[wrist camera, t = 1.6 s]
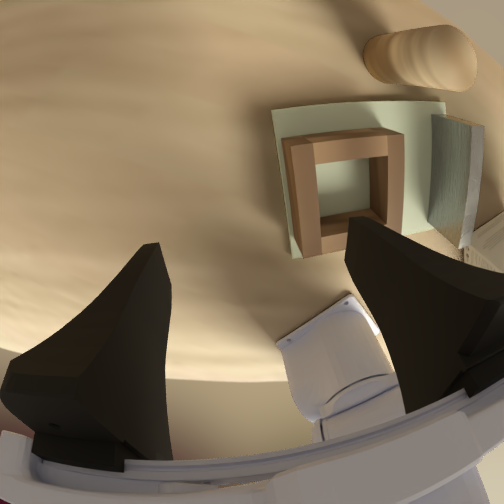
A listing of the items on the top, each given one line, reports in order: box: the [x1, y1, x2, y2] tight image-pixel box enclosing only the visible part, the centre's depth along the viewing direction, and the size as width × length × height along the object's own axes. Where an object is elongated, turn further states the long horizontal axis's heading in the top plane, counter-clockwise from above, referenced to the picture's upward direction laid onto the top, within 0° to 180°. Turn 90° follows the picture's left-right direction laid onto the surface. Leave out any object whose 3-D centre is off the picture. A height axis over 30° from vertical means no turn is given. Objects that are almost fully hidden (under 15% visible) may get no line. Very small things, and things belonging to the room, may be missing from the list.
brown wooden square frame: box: [281, 127, 405, 258], centre depth 20 cm, size 8×8×3 cm
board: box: [271, 100, 446, 259], centre depth 22 cm, size 15×12×1 cm
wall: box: [427, 114, 484, 249], centre depth 20 cm, size 2×10×5 cm, turn 10°
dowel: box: [363, 25, 477, 92], centre depth 14 cm, size 4×4×8 cm
